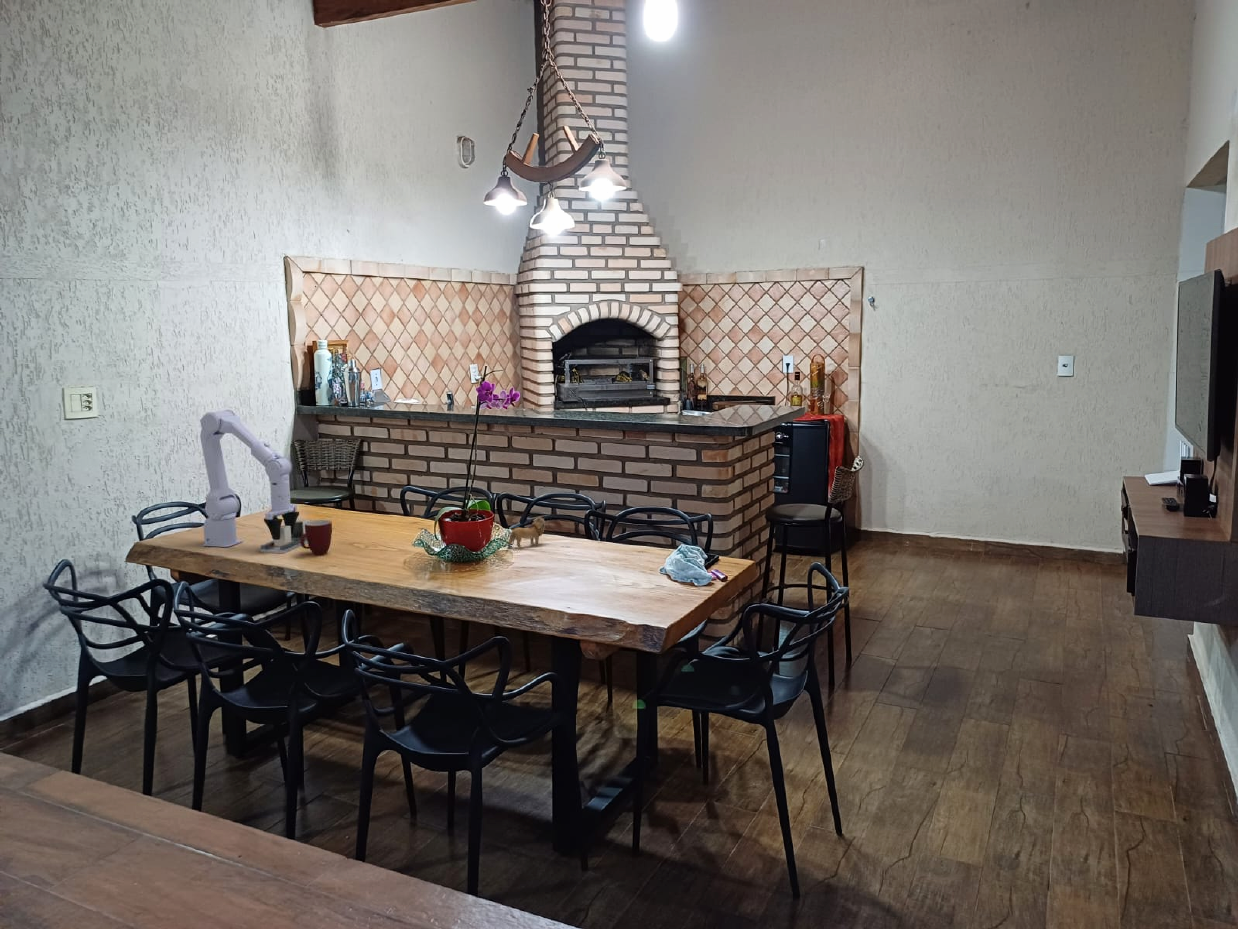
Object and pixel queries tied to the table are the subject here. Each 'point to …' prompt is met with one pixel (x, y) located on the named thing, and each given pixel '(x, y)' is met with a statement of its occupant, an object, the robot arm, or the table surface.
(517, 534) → the lion figurine
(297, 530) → the rail
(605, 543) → the table surface
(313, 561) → the table surface
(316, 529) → the mug
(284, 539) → the white rectangular block
